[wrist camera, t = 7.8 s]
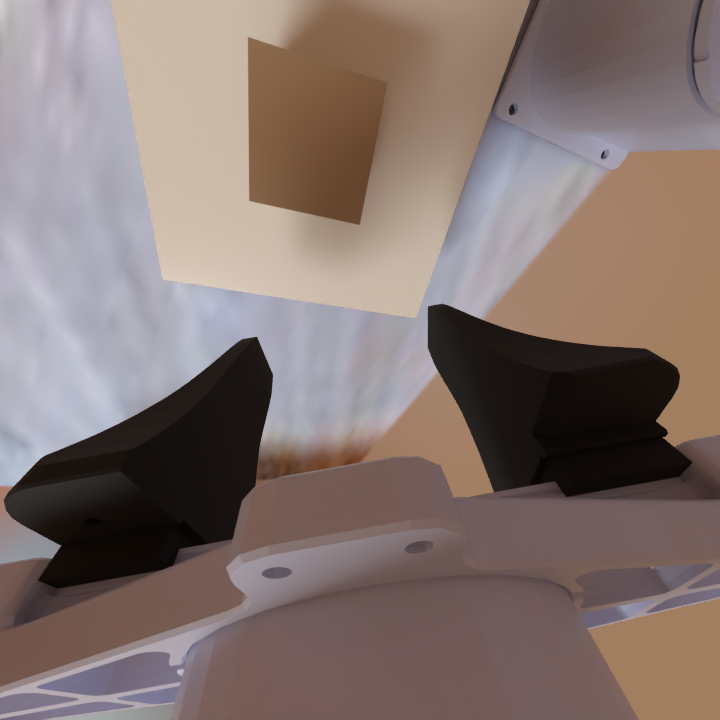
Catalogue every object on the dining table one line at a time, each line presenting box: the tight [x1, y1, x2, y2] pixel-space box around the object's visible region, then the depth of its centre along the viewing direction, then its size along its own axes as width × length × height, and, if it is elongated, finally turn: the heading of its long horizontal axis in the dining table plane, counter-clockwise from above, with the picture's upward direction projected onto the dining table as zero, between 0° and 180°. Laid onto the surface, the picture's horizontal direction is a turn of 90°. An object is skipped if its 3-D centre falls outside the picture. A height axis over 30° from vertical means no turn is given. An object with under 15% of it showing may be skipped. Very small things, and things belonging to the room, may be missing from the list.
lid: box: [111, 0, 530, 318], centre depth 11 cm, size 14×14×4 cm
